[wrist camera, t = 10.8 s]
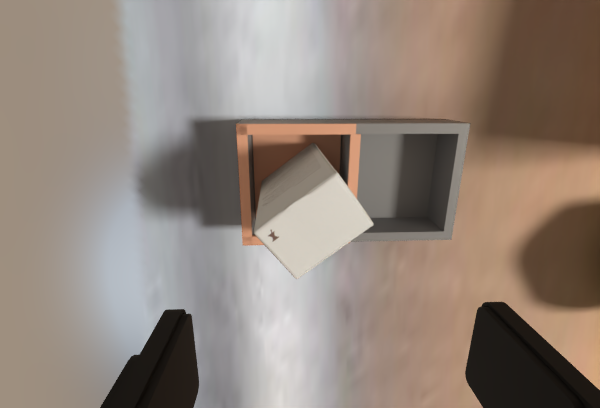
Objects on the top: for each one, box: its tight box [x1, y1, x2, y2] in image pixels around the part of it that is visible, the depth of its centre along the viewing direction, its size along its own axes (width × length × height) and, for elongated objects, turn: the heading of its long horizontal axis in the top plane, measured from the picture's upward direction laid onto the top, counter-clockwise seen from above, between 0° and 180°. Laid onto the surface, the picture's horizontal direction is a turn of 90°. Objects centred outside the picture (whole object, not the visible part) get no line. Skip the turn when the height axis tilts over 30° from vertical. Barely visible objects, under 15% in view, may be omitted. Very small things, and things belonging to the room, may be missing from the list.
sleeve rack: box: [236, 119, 470, 245], centre depth 29 cm, size 18×10×4 cm, turn 90°
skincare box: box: [254, 143, 373, 279], centre depth 25 cm, size 6×4×12 cm
